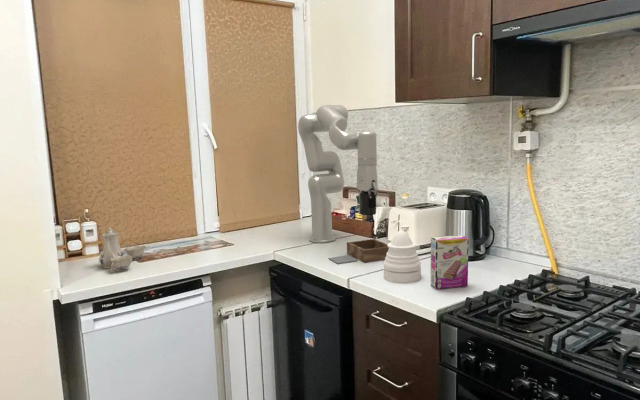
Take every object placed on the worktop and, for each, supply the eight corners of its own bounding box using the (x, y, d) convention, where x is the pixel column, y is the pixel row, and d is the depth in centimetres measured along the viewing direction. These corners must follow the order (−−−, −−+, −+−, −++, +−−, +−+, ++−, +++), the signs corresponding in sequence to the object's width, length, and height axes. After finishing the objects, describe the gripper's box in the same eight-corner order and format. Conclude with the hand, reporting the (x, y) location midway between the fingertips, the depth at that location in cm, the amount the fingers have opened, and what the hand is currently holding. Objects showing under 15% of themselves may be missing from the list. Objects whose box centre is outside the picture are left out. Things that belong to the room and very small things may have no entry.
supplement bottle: (375, 215, 194) (375, 185, 192) (358, 215, 196) (358, 186, 194) (377, 212, 201) (376, 183, 199) (360, 212, 202) (360, 183, 200)
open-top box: (347, 254, 205) (346, 242, 204) (374, 250, 210) (374, 238, 209) (364, 262, 190) (364, 250, 190) (393, 258, 195) (393, 246, 195)
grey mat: (328, 259, 198) (328, 257, 198) (348, 256, 202) (348, 255, 202) (337, 264, 190) (337, 263, 190) (358, 261, 193) (358, 260, 193)
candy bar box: (436, 290, 155) (435, 240, 153) (430, 285, 160) (429, 237, 158) (469, 287, 157) (469, 237, 155) (462, 282, 162) (462, 234, 160)
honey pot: (400, 270, 179) (400, 222, 177) (428, 277, 169) (428, 226, 167) (376, 277, 171) (374, 227, 169) (403, 285, 161) (402, 232, 159)
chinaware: (133, 277, 190) (134, 235, 188) (88, 276, 187) (88, 234, 185) (147, 259, 217) (147, 222, 215) (107, 258, 214) (108, 221, 212)
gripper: (349, 161, 201) (350, 204, 204) (369, 164, 186) (369, 210, 188) (365, 160, 204) (366, 202, 207) (386, 163, 188) (386, 208, 191)
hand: (367, 206), depth 198 cm, fingers closed on supplement bottle, 6 cm apart
